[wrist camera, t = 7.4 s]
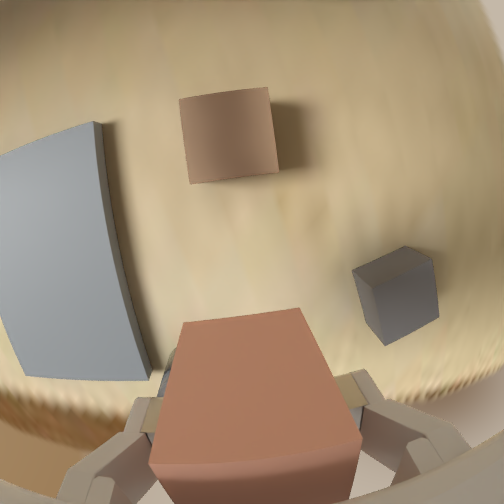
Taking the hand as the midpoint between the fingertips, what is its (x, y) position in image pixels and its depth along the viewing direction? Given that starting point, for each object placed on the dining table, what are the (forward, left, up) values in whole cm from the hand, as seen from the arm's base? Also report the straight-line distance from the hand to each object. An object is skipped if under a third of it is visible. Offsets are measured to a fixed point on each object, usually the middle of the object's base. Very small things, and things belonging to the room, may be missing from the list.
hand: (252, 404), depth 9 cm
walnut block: (0, +9, -14) cm, 17 cm away
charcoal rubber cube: (+11, -3, -14) cm, 18 cm away
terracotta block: (0, 0, -2) cm, 2 cm away
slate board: (-16, +2, -14) cm, 21 cm away
